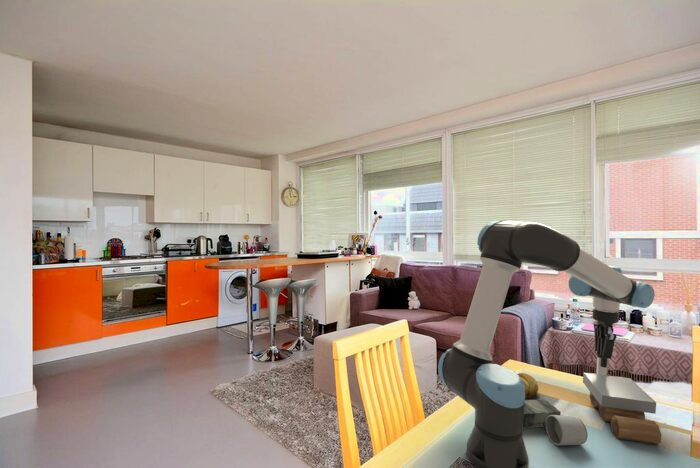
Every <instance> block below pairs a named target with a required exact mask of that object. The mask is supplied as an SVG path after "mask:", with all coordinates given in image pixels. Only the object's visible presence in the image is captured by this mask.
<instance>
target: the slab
mask: <svg viewBox="0 0 700 468" xmlns="http://www.w3.org/2000/svg"><path fill="white" fill-rule="evenodd" d="M582 375H583V376H582V383H583V385H584V386H585V387H586V388H587V390H588V391H589V393H590V392H591V393H592V395H593V396H594V397H595V398H596V400H597V401H598V402H599V404H600V405H601V406H604V407H611V408H618V409H625V410H632V411H639V412H644V413H645V414H646V413H647V414H655V415H656V411H657V402H656V401H655V399H654V398H652V397H651V396H650V395H649V394H648V393H647V392H646V391H645V390H644V389H643V388H641V387H640V385H638V384H637V383H636V382H635V381H634V380H633V379H631V378H630V377H623V376H616V375H615V376H614V375H608V374H607V375H600V374H597V373H590V372H583V373H582Z"/></svg>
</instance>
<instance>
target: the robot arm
mask: <svg viewBox="0 0 700 468" xmlns="http://www.w3.org/2000/svg"><path fill="white" fill-rule="evenodd" d="M477 246H478V247H477V248H478V250H479V251H480V257H479V259H480V261H481V264H482V268H481V271H480V274H479V277H478V281H477V284H476V288H475V291H474V294H473V296H472V300H471V304H470V307H469V310H468V312H467V316H466V319H465V322H464V326H463V329H462V332H461V336H460V338H459V340H457V341H456V342H453V344H452V347H451V348H449V349H447V350H446V351H445V352H443V353H442V354H441V356H440V358H439V360H438V366H437V369H438V370H437V371H438V376H439V379H440V381H441V382H442V383H443V385H444V386H446V388H448V390H449V391H451V392H452V393H454V394H455V395H456V396H458V397H459V398H460V399H462V400H463V401H464V402H466V403H467V404H468V405H470V406H471V407H472V408H474V425H473V428H472V430H471V433H470V435H469V437H468V440H467V443H466V456H467V455H468V456H467V459H468V460H469V462H470V461H471V462H472V463H471V462H470V463H471V464H472V465H473V466H474V467H475V468H529V465H530V459H529V455H528V452H527V449H526V444H525V441H524V437H523V435H524V433H523V430H524V428H523V420H524V406H525V400H526V398H525V387H524V382H523V380H522V379H521V377H520V376H519V375H518V374H519V373H517V372H516V371H514V370H513V369H510V368H509V367H506V366H501V365H499V364H497V363H492V362H493V357H492V355H491V352H490V349H491V346H492V342H493V340H494V336H495V334H496V333H495V332H496V330H497V326H498V324H499V320H500V316H501V313H502V311H503V307H504V303H505V301H506V297H507V294H508V290H509V288H510V283H511V281H512V279H513V278H512V277H513V275H514V273H517V272H519V271H520V270H521V268H522V265H523V263H524V264H531V265H532V264H533V265H536V266H537V265H538V266H542V267H545V268H549V269H551V270H552V271H556V272H565V273H566V274H568V275H570V277H569V279H568V289H569V291H570V292H571V293H572V294H574V295H575V296H577V297H592V299H593V301H592V306H593V309H592V319H593V320H595V321H596V323H593V329H594V330H593V331H594V351H595V352H596V355H597V357H596V372H595V374H600V375H608V363H609V361H608V360H611V359H612V357H613V351H614V347H615V346H614V345H615V341H616V340H617V334H615V333H614V326H613V325H614V324H617V323H619V318H620V312H619V311H620V304H623V305H627V306H631V307H632V308H635V307H636V308H641V309H646V308H649V307H650V306H652V304H653V302H654V299H655V296H656V295H655V290H654V288H653V286H652V285H651V284H649V283H647V282H642V281H636V280H633V279H631V278H629V277H627V276H626V275H624V274H623V272H622V269H621V268H620V267H619V266H614V265H608V264H606V263H604V262H603V261H601V260H599V259H598V258H596V257H594V256H593V255H591V254H590V253H588V252H586V251H585V250H583V249H581V247H580V245H579V243H578V242H577V241H576V240H574V239H572V238H571V237H569V236H567V235H566V234H564V233H562V232H561V231H558V230H557V229H554V228H552V227H549V226H548V225H545V224H542V223H539V222H533V221H519V220H517V221H516V220H507V219H502V220H492V221H490V222H489V223H486V225H484V226H483V227H482V228H481V230H480V231H479V233H478V236H477Z"/></svg>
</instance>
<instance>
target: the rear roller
mask: <svg viewBox="0 0 700 468" xmlns="http://www.w3.org/2000/svg"><path fill="white" fill-rule="evenodd" d="M589 399H590V401H589V402H590V404H591V405H592V407H593V408H595V409H599V402H598V401H597V400H596V398H595V397H594V396H593V395H592V393H591V392H590V391H589Z"/></svg>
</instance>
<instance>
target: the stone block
mask: <svg viewBox="0 0 700 468" xmlns="http://www.w3.org/2000/svg"><path fill="white" fill-rule="evenodd" d="M549 415H561V410H559V409H558V408H557V407H556V406H554V405H553V404H552V403H550V401H548V400H547V399H544V398H542V399H541V398H540V399H525V406H524V420H523V429H532V428H545V429H546V419H547V417H548V416H549Z"/></svg>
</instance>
